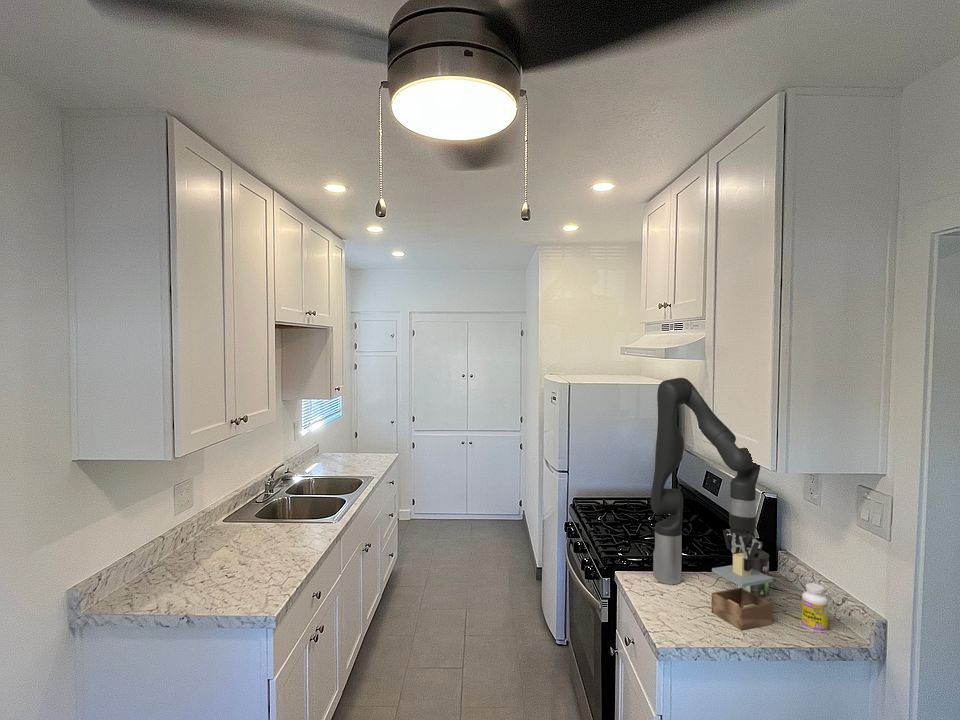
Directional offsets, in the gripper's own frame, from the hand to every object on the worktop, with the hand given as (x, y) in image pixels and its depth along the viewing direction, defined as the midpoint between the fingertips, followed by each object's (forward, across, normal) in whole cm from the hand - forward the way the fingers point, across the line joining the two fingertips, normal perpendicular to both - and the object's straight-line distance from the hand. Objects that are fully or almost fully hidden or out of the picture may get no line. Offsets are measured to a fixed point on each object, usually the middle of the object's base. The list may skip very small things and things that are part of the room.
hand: (742, 567), depth 166 cm
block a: (+16, -2, -3) cm, 16 cm away
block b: (+16, +3, +2) cm, 16 cm away
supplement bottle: (+17, +11, +17) cm, 26 cm away
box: (+16, 0, 0) cm, 16 cm away
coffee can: (+17, -14, +19) cm, 29 cm away
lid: (+3, 0, 0) cm, 3 cm away
